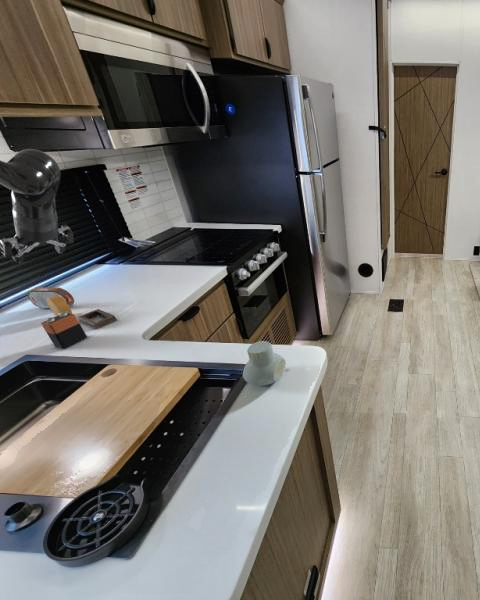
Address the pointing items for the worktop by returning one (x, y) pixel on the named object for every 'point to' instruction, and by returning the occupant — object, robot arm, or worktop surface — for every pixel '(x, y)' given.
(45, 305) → the tin
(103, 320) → the tape holder
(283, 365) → the air freshener
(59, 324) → the battery
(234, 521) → the worktop surface
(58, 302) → the tape roll
